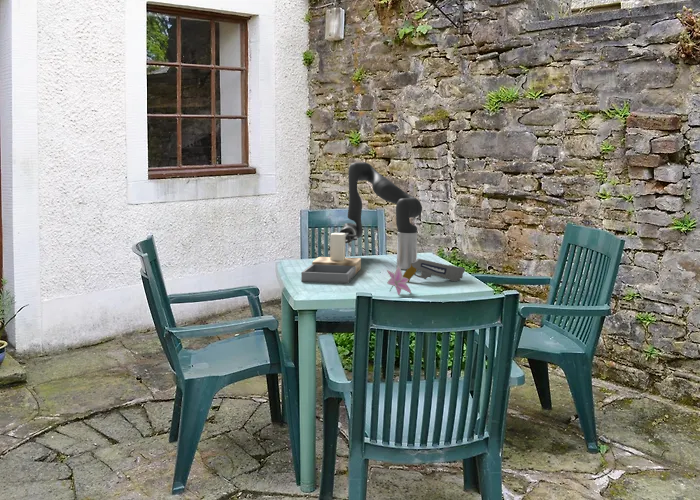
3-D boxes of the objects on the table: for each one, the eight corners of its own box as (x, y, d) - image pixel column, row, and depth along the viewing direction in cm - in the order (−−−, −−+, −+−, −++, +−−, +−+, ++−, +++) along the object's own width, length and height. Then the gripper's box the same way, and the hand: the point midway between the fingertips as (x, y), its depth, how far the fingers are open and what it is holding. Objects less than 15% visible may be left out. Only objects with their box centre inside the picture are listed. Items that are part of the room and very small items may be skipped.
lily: (381, 298, 292) (392, 278, 288) (375, 281, 302) (385, 262, 298) (408, 305, 297) (419, 286, 293) (400, 288, 307) (411, 270, 303)
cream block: (345, 258, 350) (345, 233, 349) (343, 260, 344) (343, 234, 343) (332, 258, 351) (332, 232, 350) (330, 260, 345) (330, 234, 344)
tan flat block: (360, 268, 353) (361, 258, 352) (355, 274, 337) (355, 263, 336) (319, 267, 356) (319, 256, 355) (312, 272, 340) (312, 261, 340)
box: (355, 274, 337) (355, 265, 336) (347, 283, 316) (348, 274, 315) (311, 272, 340) (312, 264, 339) (301, 281, 319) (301, 272, 318)
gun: (453, 301, 325) (466, 269, 324) (402, 281, 320) (415, 248, 319) (450, 299, 328) (464, 268, 327) (400, 279, 323) (413, 247, 322)
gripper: (334, 226, 375) (328, 231, 358) (360, 227, 373) (355, 232, 356) (334, 241, 376) (327, 246, 359) (360, 242, 374) (355, 247, 357)
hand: (341, 239), depth 358 cm, fingers closed
